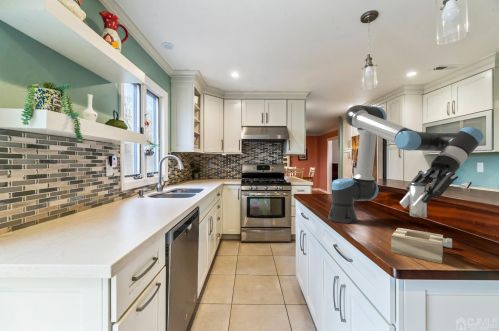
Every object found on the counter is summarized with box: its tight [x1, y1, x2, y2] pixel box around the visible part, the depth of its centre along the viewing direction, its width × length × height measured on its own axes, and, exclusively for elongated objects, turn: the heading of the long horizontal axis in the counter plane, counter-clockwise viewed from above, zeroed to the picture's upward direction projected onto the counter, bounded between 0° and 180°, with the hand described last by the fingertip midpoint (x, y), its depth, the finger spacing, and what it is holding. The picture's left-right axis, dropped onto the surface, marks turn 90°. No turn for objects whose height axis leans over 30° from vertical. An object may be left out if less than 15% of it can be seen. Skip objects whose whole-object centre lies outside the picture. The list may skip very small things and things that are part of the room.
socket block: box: [390, 227, 444, 264], centre depth 83 cm, size 14×14×6 cm
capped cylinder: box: [409, 181, 428, 219], centre depth 83 cm, size 5×5×12 cm
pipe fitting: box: [443, 237, 453, 250], centre depth 90 cm, size 8×4×7 cm
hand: (408, 206), depth 82 cm, fingers closed on capped cylinder, 5 cm apart
